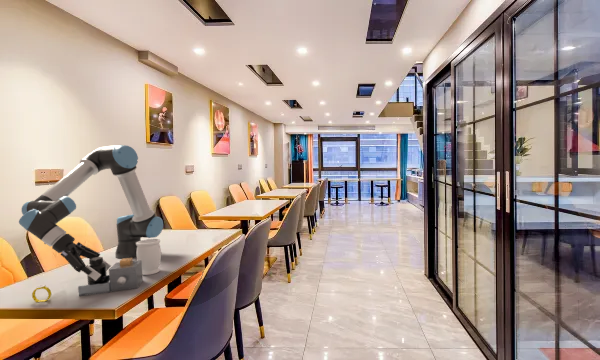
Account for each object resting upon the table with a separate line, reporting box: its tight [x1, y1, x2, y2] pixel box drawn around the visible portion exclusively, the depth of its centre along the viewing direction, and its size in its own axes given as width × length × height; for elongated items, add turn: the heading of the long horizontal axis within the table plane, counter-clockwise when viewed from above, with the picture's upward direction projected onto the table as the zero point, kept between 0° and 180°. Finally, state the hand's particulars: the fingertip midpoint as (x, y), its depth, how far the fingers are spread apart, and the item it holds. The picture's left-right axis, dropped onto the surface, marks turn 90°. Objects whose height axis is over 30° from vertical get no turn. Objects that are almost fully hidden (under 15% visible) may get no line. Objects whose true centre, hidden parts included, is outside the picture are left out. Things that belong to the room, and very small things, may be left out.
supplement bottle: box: [86, 256, 108, 285], centre depth 138 cm, size 7×7×12 cm
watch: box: [31, 284, 52, 303], centre depth 127 cm, size 6×3×6 cm, turn 98°
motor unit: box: [77, 257, 144, 297], centre depth 138 cm, size 14×21×11 cm, turn 104°
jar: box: [136, 238, 162, 276], centre depth 157 cm, size 11×10×15 cm
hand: (103, 272), depth 139 cm, fingers open, 12 cm apart
